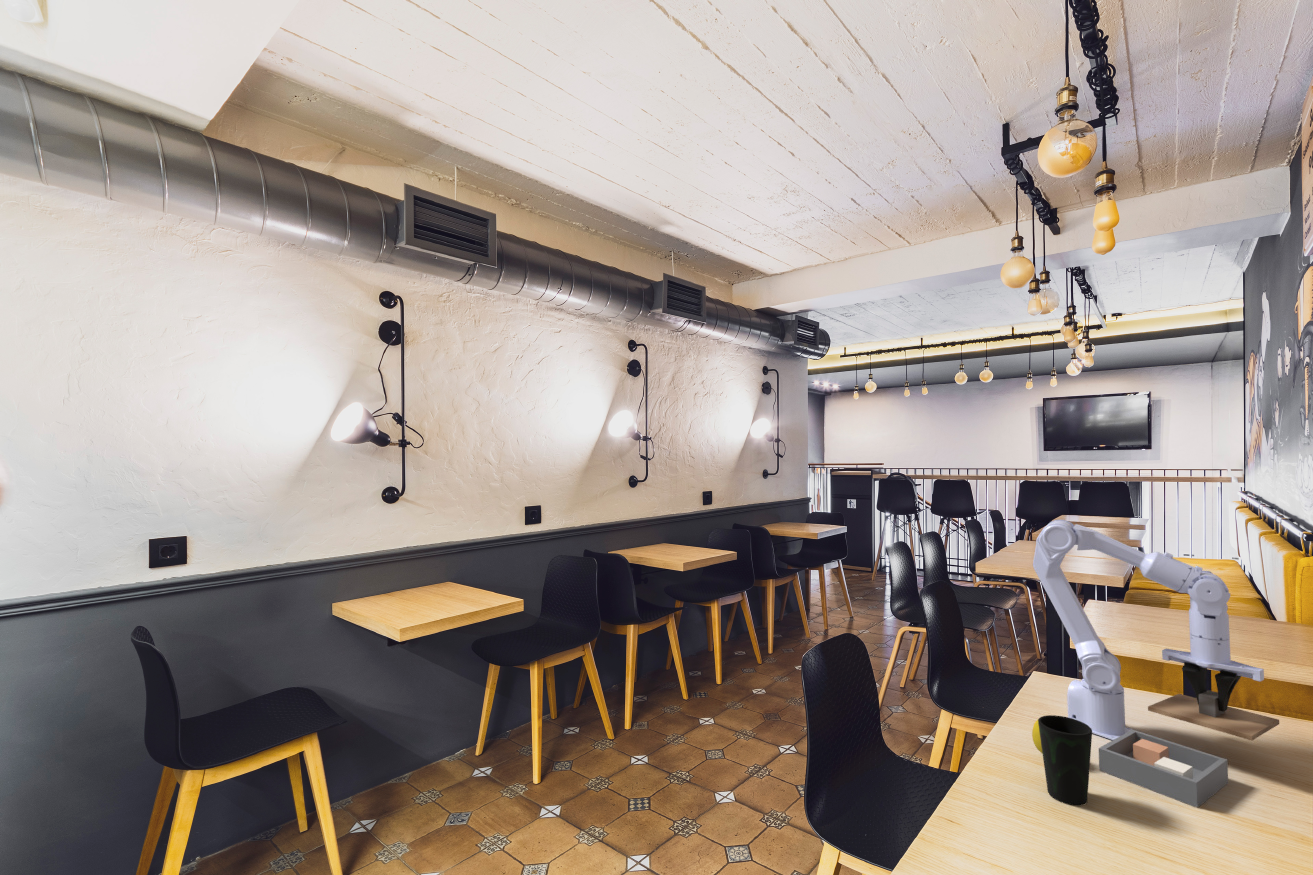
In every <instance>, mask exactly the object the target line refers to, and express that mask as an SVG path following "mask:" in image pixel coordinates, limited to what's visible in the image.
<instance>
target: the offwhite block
mask: <svg viewBox="0 0 1313 875" xmlns="http://www.w3.org/2000/svg"><path fill="white" fill-rule="evenodd" d="M1154 766H1156V767H1159V768H1161V769H1164V770H1167V771H1170V772H1173V773H1176V774H1178V775H1181V776H1184V777H1187V778H1190V779H1193V767H1192V766H1189V765H1186V764H1183V763H1181V762H1178V761H1175V760H1172V759H1169V758H1166V757H1163V758H1161V759H1160V760H1158V761H1157V762H1155V763H1154Z"/></svg>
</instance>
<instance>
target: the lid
mask: <svg viewBox="0 0 1313 875" xmlns="http://www.w3.org/2000/svg"><path fill="white" fill-rule="evenodd" d="M1147 711H1148V712H1152V713H1155V714H1158V715H1161V716H1165V717H1169V718H1172V719H1176V720H1179V721H1183V722H1186V723H1189V724H1193V725H1196V726H1200V727H1203V728H1207V729H1210V730H1214V731H1217V732H1220V733H1224V734H1227V735H1232V736H1235V737H1238V738H1242V739H1245V740H1249V741H1254V740H1255V739H1257V738H1259V737H1261V736H1262V735H1264V734H1266V733H1267V732H1269V731H1271V730H1272V729H1274V728H1276V727H1277V726H1279V725H1280V719H1277V718H1274V717H1270V716H1266V715H1262V714H1258V713H1255V712H1252V711H1248V710H1243V709H1240V708H1235V707H1231V706H1228V707H1227V710H1226V711H1224V712H1222V711H1219V708H1218V691H1213V690H1209V689H1208V690H1206V692H1203V693H1201V694H1199V705H1198V701H1197V698H1196V697H1193V696H1189V695H1185V694H1182V693H1177V694H1175V695H1172V696H1170V697H1167V698H1165V699H1163V700H1160V701H1158V702H1155V703H1153V704H1150V705H1148V706H1147Z"/></svg>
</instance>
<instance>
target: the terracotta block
mask: <svg viewBox="0 0 1313 875" xmlns="http://www.w3.org/2000/svg"><path fill="white" fill-rule="evenodd" d="M1163 757H1166V758H1169V748H1168V747H1166V746H1163V745H1160V744H1157V743H1154V742H1151V741H1148V740H1145V739H1141V740H1139V741H1138V742H1136V743H1134V744H1133V758H1134V759H1136V760H1139V761H1141V762H1144V763H1147V764H1150V765H1153V766H1154V763H1155V762H1157V761H1158V760H1160V759H1161V758H1163Z"/></svg>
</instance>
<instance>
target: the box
mask: <svg viewBox="0 0 1313 875" xmlns="http://www.w3.org/2000/svg"><path fill="white" fill-rule="evenodd" d="M1141 739H1145V740H1148V741H1151V742H1154V743H1157V744H1160V745H1163V746H1166V747H1168V748H1169V759H1172V760H1175V761H1178V762H1181V763H1183V764H1186V765H1189V766H1192V767H1193V779H1190V778H1187V777H1184V776H1181V775H1178V774H1176V773H1173V772H1170V771H1167V770H1164V769H1161V768H1159V767H1156V766H1153V765H1150V764H1147V763H1144V762H1141V761H1139V760H1136V759H1134V758H1133V744H1134V743H1136V742H1138V741H1139V740H1141ZM1098 767H1099V768H1098V769H1099V771H1100V772H1103V773H1105V774H1108V775H1111V776H1113V777H1116V778H1118V779H1122V780H1123V781H1126V782H1129V783H1131V784H1134V785H1137V786H1138V787H1139V786H1140V787H1142V788H1144V789H1147V790H1150V791H1153V792H1155V793H1158V794H1160V795H1163V796H1166V797H1168V798H1171V799H1174V800H1176V801H1179V802H1181V803H1184V804H1186V805H1189V806H1192V807H1194V808H1199V807H1200V806H1201V805H1203V804H1204V803H1205V802H1207V801H1208V800H1209V799H1210V798H1211V797H1212V796H1214V795H1215V794H1217V793H1218V792H1219V791H1220V790H1222V789H1223V788H1224V787H1225V786H1226V785H1228V784H1229V769H1228V767H1229V766H1228V759H1227V758H1223V757H1220V756H1216V755H1214V754H1211V753H1207V752H1204V751H1201V750H1198V749H1195V748H1192V747H1189V746H1186V745H1183V744H1179V743H1177V742H1173V741H1169V740H1168V739H1164V738H1160V737H1158V736H1154V735H1151V734H1148V733H1144V732H1141V731H1138V730H1136V729H1133V730H1131V731H1129V732H1127V733H1125V734H1123V735H1122V736H1120V737H1118V738H1116V739H1114V740H1111V741H1109V742H1107V743H1105V744H1104V745H1102V746H1100V747H1099V748H1098Z"/></svg>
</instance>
